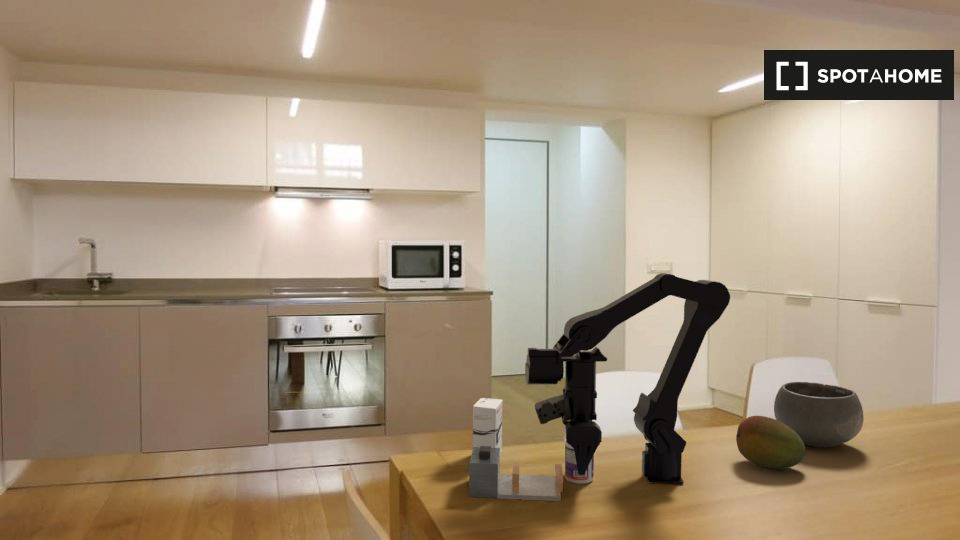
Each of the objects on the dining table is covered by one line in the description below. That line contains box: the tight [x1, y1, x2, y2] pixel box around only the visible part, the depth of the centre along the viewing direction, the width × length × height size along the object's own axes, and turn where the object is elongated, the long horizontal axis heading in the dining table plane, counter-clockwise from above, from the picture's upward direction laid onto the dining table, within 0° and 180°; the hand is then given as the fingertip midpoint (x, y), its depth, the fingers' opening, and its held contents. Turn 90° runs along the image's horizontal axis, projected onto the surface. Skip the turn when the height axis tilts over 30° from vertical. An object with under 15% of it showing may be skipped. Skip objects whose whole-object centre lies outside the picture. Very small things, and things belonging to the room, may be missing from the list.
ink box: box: [472, 397, 504, 456], centre depth 136 cm, size 8×5×12 cm, turn 168°
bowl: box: [773, 381, 864, 448], centre depth 147 cm, size 18×18×13 cm
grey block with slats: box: [468, 446, 564, 502], centre depth 119 cm, size 16×10×7 cm, turn 86°
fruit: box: [735, 415, 806, 470], centre depth 133 cm, size 12×12×10 cm
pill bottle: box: [564, 441, 595, 485], centre depth 124 cm, size 5×5×10 cm
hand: (579, 465), depth 125 cm, fingers open, 9 cm apart
